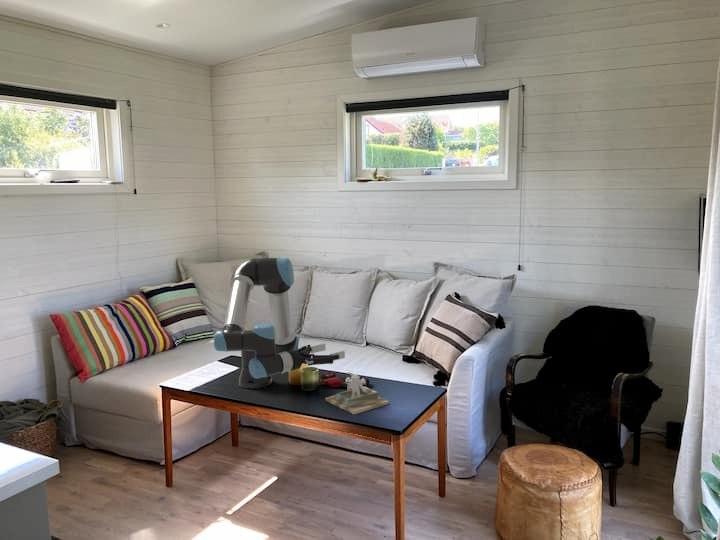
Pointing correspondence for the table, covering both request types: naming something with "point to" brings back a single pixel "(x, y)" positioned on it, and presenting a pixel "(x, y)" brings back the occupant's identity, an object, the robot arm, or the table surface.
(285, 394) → the table surface
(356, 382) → the hat wearing toy figure
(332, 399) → the jig board
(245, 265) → the robot arm
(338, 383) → the toy motorcycle
